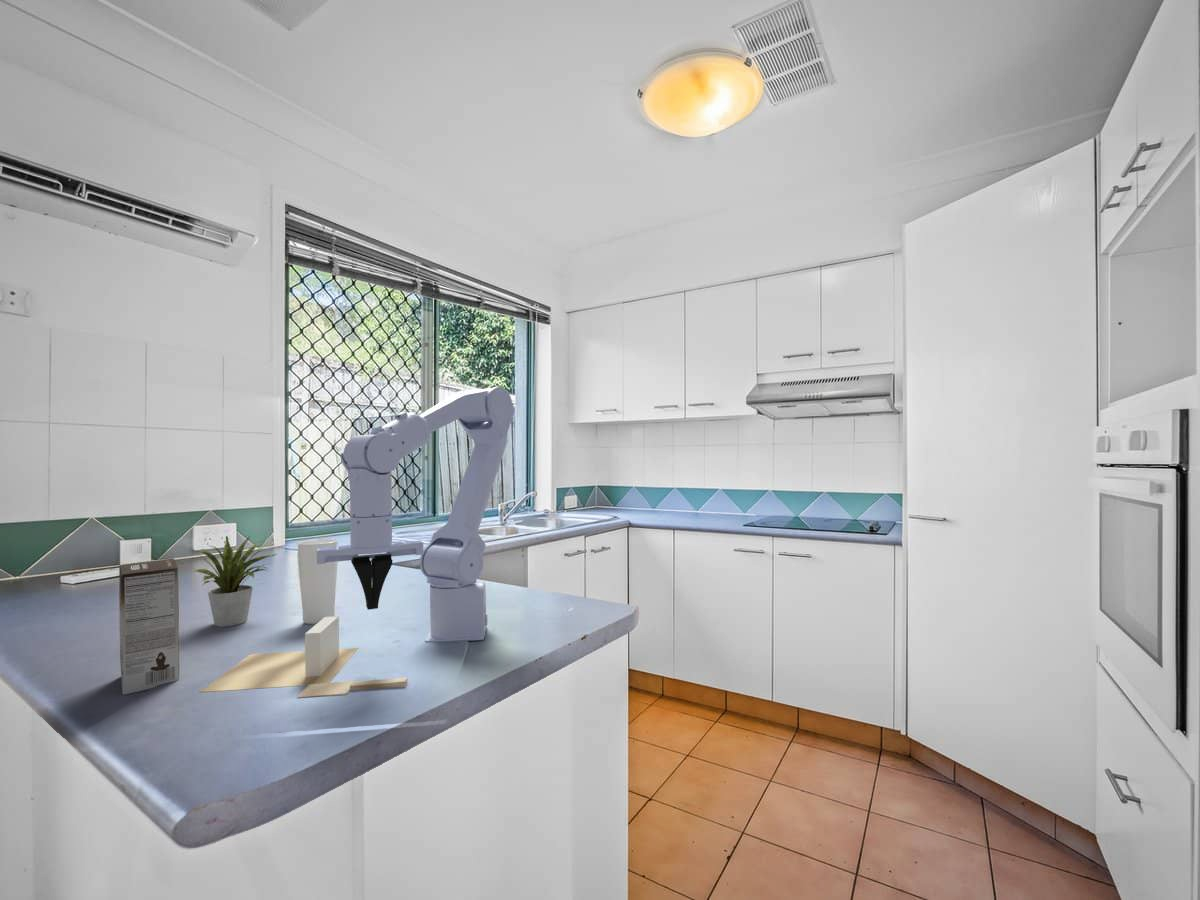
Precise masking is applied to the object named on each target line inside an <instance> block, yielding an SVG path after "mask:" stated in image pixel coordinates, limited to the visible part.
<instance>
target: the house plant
mask: <svg viewBox="0 0 1200 900" xmlns="http://www.w3.org/2000/svg"><path fill="white" fill-rule="evenodd" d="M250 538H251V535H249V536H248V537H247V538H246V539H245V540H244V541H243V542H242V543H241V545H240V546H239V547H238V548H237V550H236V551H235V553H234V549H232V547H231V543H229V542H230V541H229V537H228V535H226V536H225V543H224V546H223V552H221V550H220V549H219V548H217V547H216V546H213V545H209V547H211V548H214V549H215V550H216V551H217V552H218V554H219V556H220V558H221V563H220V562H219V559H218V558H217V557H216V556H215V555H214V554H212V552H210V551H208V550H206V549H204V548H200V551H198V552H199V553H201V554H204V555H205V556H206V557H208V558H209V560H211V562H212V563H213V564H214V566H215V567H214V566H213V564H212V563H210V562H209V561H208V560H207V559H206V558H204V557H203V556H202V555H200V554H198V553H196V555H197V556H199V557H201V558H202V559H203V560H204V561H205V562H206V563H207V564H209V566H211V567H212V568H213V570H214V572H215V573H216V574H215V573H214V572H213V571H211V570H208V569H205V568H199V569H196V570H194V571H193V573H200V574H205V575H203V579H202V582H204V583H203V584H202V586H204V585H205V584H208V583H210V582H211V580H209V579H214V580H212V582H214V583H216V585H217V586H218V587H216V588H212V589H210V590H209V591H207V594H208V599H209V605H210V609H211V615H212V618H213V619H212V620H213V624H214V626H215V627H223V628H224V627H232V626H237V625H241V624H243V623H246V622H247V621H248V618H249V611H250V606H251V599H252V593H253V589H254V588H253V585H250V584H243V583H244V582H242V581H244V580H245V579H246V578H247V576H248V577H250V576H251V577H252V578H253V579H255V574H254V573H256V572H259V571H261V572H262V571H266V572H267V571H268V570H269V571H270V569H269V568H268V567H266V565H268V563H266V564H263V565H261V566H260V565H257V566H256V565H255V566H251V565H252V564H255V563H257V562H259V561H261V560H264V559H266V558H271V557H274V556H276V555H278V554H276V553H275V554H266V555H262V556H258V557H254V556H256V554H258V553H260V552H263V551H265V549H263V548H265V547H266V548H267V547H270V546H271V544H269V545H264V546H261V547H259V548H258V549H256V547H257V546H259V544H261V543H262V542H264V541H263V540H262V541H260V542H256V543H254V544H252V545H251V547H249V549H248V550H246V551H245V553H244V554H243V552H244V550H245V549H246V547H245V546H246V544H247V542H248V541H249V539H250ZM274 545H275V543H274V544H272V546H274ZM255 549H256V550H255ZM258 550H259V551H258ZM233 553H234V554H233ZM242 554H243V555H242ZM252 554H253V555H252ZM251 555H252V556H251ZM250 556H251V557H250ZM248 557H250V558H249V559H248ZM253 557H254V558H253ZM247 559H248V560H247ZM221 564H222V565H221ZM271 564H272V563H270V565H271ZM250 566H251V567H250ZM248 567H250V568H248ZM247 568H248V569H247ZM253 569H254V570H253ZM251 570H252V571H251ZM269 571H268V572H269Z"/></svg>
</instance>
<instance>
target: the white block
mask: <svg viewBox="0 0 1200 900" xmlns="http://www.w3.org/2000/svg"><path fill="white" fill-rule="evenodd" d="M339 617H340V616H334V617H324V618H323V619H322V620H321V621H320V622H318V623H317V624H315V625H313V627H311V628H310V629H309V630H307V631H306V632H305V633H304V648H305V649H304V651H305V676H306V677H311V676H321V675H322V674H323V673H324V672H325V671H326V670H327V668H328V667H329V666H330V665H331V664H332V663H333V662H334V661H335V660H336V658H337V657H338V656H339V649H340V627H339V626H340V623H339V622H340V621H339Z"/></svg>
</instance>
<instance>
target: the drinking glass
mask: <svg viewBox="0 0 1200 900" xmlns="http://www.w3.org/2000/svg"><path fill="white" fill-rule="evenodd" d="M337 546H339V545H338V540H337V539H336V538H335V539H334V538H316V539H307V540H301V541H299V542H298V543H297V571H298V580H299V588H300V589H299V590H300V597H301V598H300V600H301V609H302V621H303V623H305V625H309V626H310V625H312V626H315V625H316V624H317V623H318V622H320V621H321V620H322V619H323V618H324V617H335V615H336V614H335V610H336V609H335V605H336V603H335V602H336V589H337V577H338V565H339V563H338V562H339V561H338V562H327V563H325V564H317V549H320V548H330V547H337Z"/></svg>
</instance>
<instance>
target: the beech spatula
mask: <svg viewBox="0 0 1200 900" xmlns="http://www.w3.org/2000/svg"><path fill="white" fill-rule="evenodd" d="M407 685H408V677H406V676H405V677H396V678H395V677H394V678H383V679H381V678H380V679H370V680H357V681H356V680H348V681H347V680H346V681H337V682H330V683H322V684H310V685H306V687H305V688H304V689H303V690H302V691H301V692H300V693H299V695H298V696H297V697H296V699H303V698H304V699H305V698H317V697H331V696H332V697H333V696H346V695H348V694H349V693H350V692H351V691H361V690H376V689H377V690H378V689H390V688H391V689H392V688H405V687H406V686H407Z"/></svg>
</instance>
